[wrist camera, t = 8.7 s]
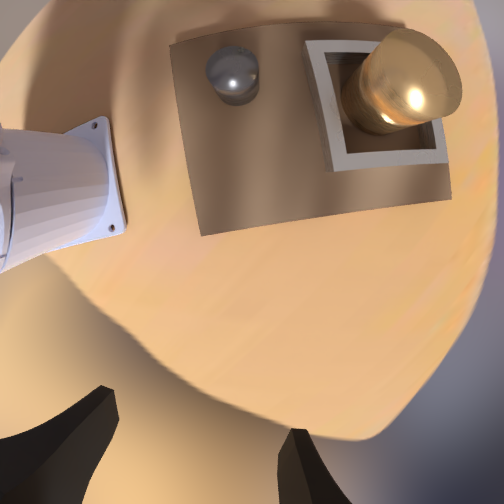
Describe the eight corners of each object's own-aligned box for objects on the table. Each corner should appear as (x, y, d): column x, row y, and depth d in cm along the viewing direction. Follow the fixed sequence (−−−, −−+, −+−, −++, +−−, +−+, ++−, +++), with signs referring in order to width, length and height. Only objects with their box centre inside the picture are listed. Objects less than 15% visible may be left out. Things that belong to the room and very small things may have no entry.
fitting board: (205, 232, 17) (187, 249, 13) (174, 52, 14) (152, 24, 10) (441, 197, 16) (480, 205, 11) (407, 36, 13) (434, 12, 8)
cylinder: (350, 139, 14) (399, 118, 8) (332, 74, 13) (366, 25, 7) (409, 133, 13) (472, 117, 8) (391, 72, 13) (442, 34, 7)
